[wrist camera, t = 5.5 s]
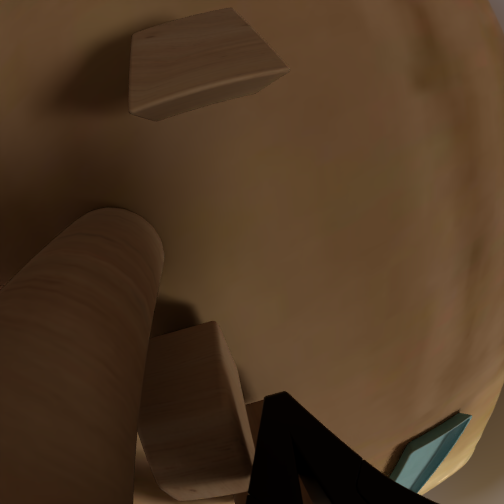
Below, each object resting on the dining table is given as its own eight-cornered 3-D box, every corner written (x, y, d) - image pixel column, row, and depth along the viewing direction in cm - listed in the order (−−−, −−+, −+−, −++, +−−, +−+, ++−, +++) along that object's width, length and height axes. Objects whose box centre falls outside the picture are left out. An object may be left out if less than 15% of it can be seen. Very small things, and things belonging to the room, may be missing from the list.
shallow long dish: (402, 440, 23) (412, 456, 21) (464, 403, 24) (475, 416, 22) (365, 507, 33) (370, 517, 31) (411, 485, 34) (416, 494, 32)
